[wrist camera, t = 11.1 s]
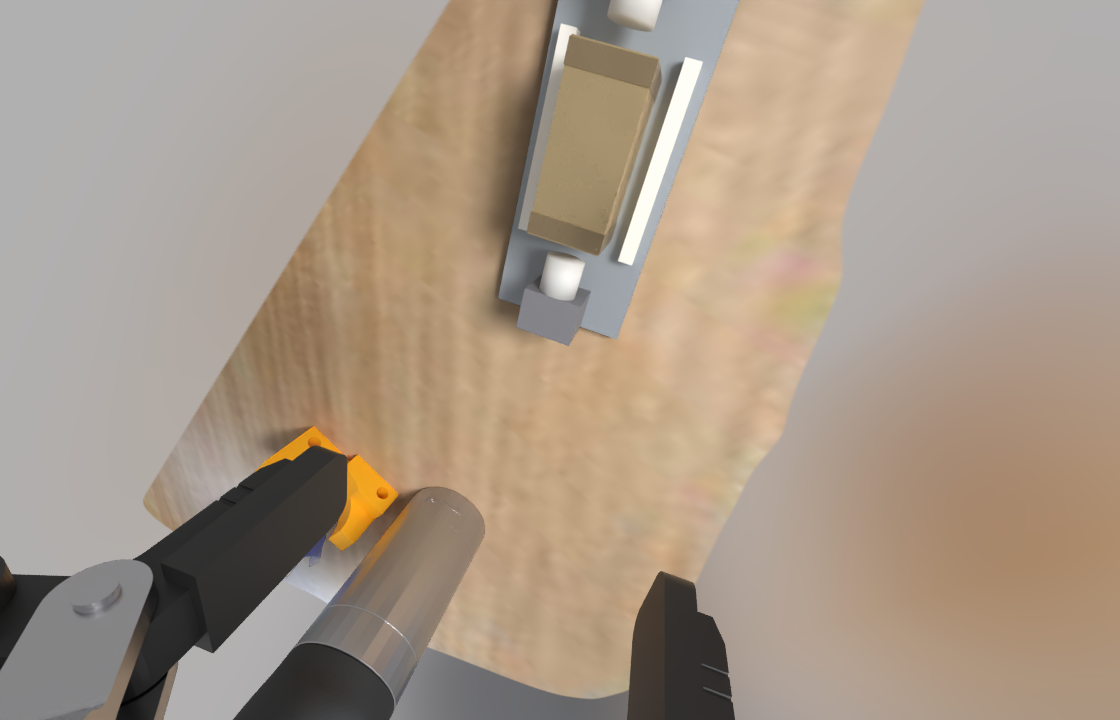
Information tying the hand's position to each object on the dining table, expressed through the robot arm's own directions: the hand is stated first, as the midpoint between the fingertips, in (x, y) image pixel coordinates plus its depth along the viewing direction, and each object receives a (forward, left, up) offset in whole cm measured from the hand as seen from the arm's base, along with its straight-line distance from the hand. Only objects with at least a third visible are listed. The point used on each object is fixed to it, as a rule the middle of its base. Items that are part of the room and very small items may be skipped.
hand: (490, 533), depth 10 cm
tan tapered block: (+8, +4, -24) cm, 25 cm away
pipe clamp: (-30, +22, -25) cm, 45 cm away
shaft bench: (+8, +4, -25) cm, 26 cm away
